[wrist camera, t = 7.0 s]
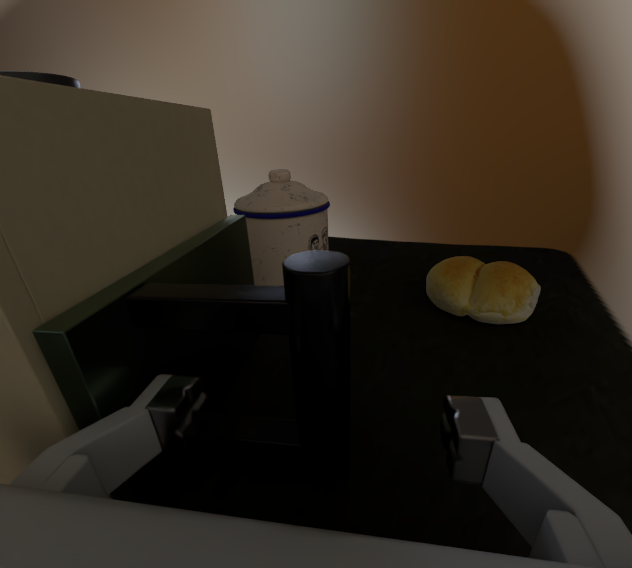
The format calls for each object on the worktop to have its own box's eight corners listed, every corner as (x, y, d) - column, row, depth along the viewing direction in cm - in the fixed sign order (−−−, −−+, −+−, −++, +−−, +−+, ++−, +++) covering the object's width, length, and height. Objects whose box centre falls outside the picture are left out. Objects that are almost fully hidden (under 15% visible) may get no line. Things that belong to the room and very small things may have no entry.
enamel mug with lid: (320, 310, 29) (314, 175, 24) (229, 302, 31) (208, 176, 27) (343, 263, 40) (342, 162, 35) (274, 259, 42) (264, 164, 37)
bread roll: (443, 276, 35) (448, 240, 33) (541, 299, 29) (552, 258, 28) (406, 305, 29) (410, 264, 28) (518, 340, 24) (530, 291, 22)
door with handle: (358, 337, 23) (360, 196, 19) (345, 565, 11) (343, 306, 7) (96, 325, 26) (49, 202, 22) (-140, 490, 14) (-340, 284, 10)
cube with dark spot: (247, 343, 25) (208, 92, 18) (124, 553, 12) (-160, -3, 6) (88, 334, 27) (-2, 108, 20) (-154, 507, 15) (-609, 64, 8)
